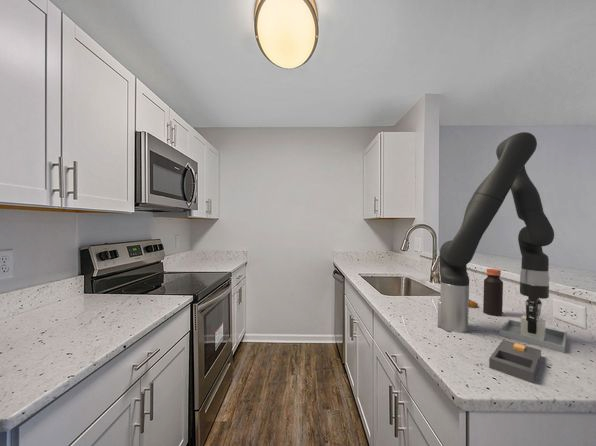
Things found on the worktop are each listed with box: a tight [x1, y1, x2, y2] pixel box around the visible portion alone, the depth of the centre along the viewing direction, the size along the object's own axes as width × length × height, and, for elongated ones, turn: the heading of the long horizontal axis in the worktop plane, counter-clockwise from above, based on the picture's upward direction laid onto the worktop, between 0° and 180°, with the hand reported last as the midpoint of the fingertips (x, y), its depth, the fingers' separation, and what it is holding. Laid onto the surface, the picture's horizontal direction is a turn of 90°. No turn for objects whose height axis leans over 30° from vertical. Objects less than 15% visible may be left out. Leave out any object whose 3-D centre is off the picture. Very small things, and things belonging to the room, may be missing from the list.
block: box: [520, 315, 546, 341], centre depth 91 cm, size 6×4×6 cm
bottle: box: [482, 268, 504, 317], centre depth 114 cm, size 7×7×20 cm
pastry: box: [469, 299, 479, 309], centre depth 126 cm, size 9×7×4 cm
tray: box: [498, 318, 568, 354], centre depth 91 cm, size 16×16×2 cm
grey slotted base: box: [488, 339, 542, 384], centre depth 74 cm, size 9×18×3 cm, turn 132°
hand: (532, 330), depth 91 cm, fingers closed on block, 4 cm apart
